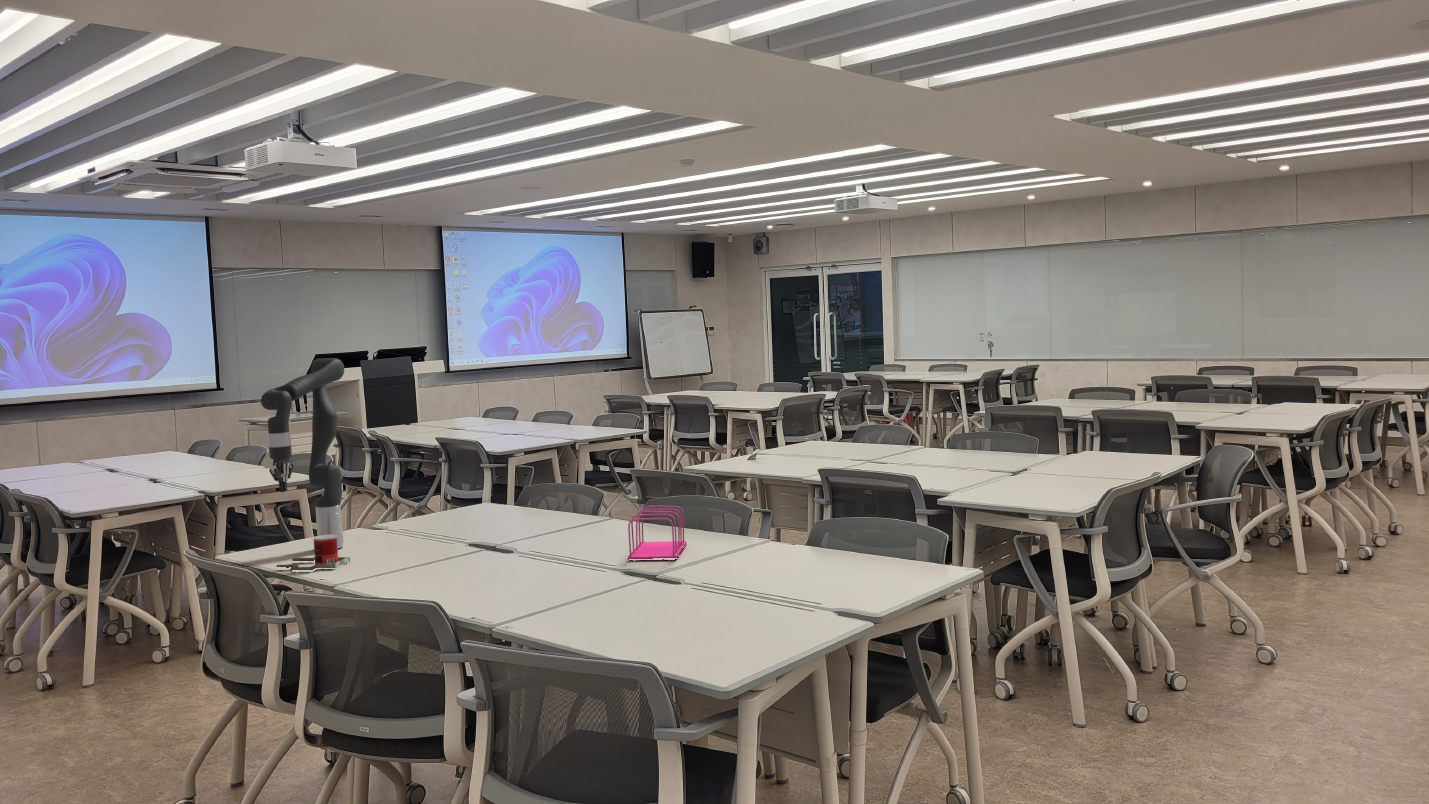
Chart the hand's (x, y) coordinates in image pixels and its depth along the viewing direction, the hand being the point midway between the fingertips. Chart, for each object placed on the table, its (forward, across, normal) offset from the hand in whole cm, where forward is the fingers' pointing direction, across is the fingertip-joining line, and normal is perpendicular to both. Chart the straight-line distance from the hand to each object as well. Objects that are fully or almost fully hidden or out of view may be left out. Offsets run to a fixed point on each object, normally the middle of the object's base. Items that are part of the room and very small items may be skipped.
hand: (283, 491), depth 358 cm
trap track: (+27, -6, -13) cm, 30 cm away
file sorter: (+28, +7, -137) cm, 140 cm away
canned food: (+27, -6, -18) cm, 33 cm away
